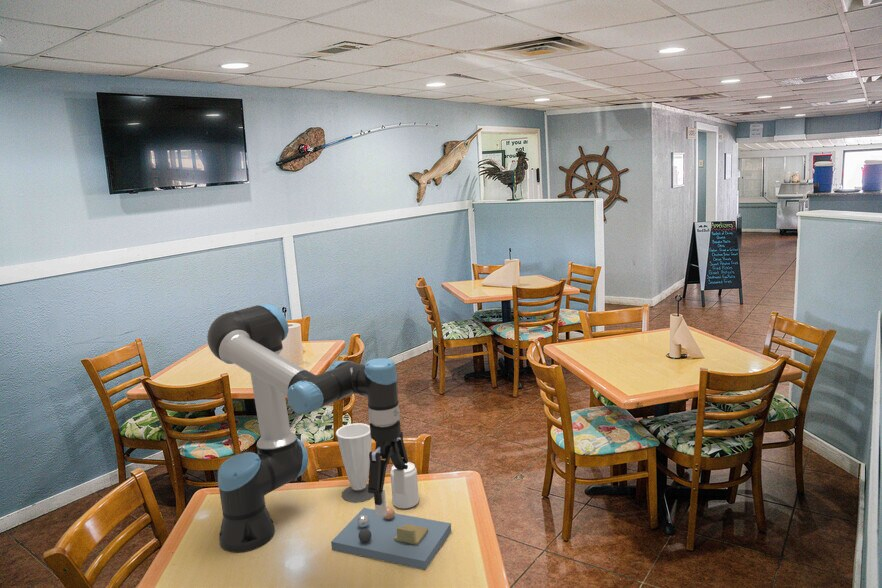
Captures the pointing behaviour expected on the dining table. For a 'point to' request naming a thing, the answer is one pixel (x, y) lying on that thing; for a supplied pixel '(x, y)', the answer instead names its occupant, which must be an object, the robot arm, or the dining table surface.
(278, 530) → the dining table surface
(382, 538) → the grey flat board
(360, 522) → the steel ball
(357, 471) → the cup
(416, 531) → the brass cover
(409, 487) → the beverage can
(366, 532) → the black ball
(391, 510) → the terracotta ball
